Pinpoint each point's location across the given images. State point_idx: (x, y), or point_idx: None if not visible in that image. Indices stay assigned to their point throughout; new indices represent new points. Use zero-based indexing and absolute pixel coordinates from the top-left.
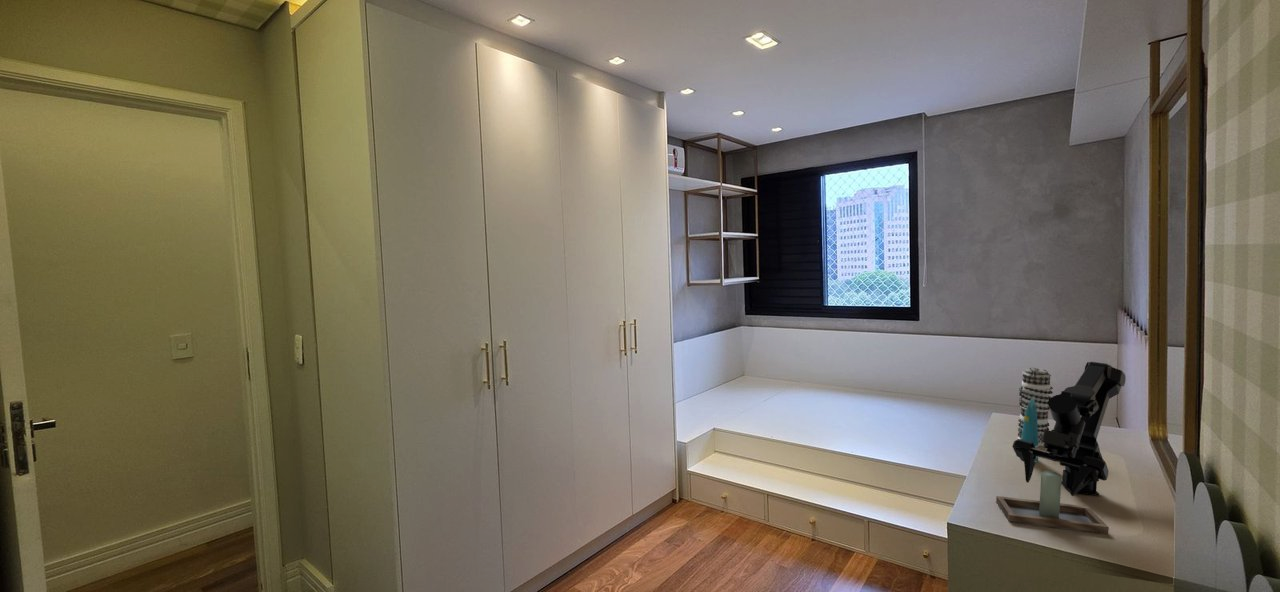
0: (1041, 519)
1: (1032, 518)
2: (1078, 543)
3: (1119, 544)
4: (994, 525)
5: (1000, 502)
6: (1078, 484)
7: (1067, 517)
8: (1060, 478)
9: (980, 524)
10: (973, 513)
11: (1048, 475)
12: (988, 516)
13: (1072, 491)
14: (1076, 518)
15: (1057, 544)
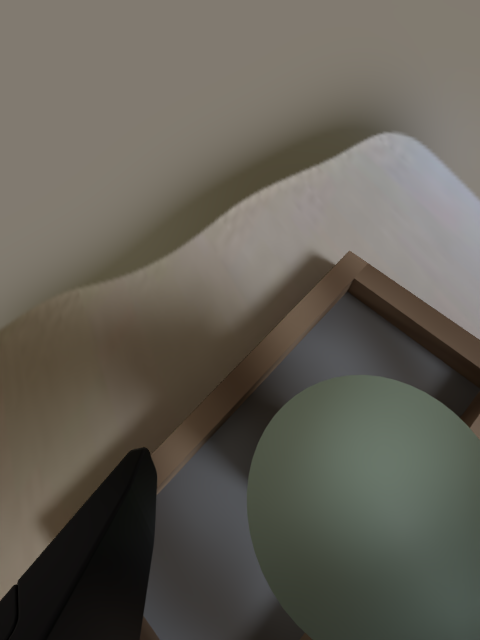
0: (266, 336)
1: (290, 311)
2: (123, 338)
3: (15, 487)
4: (344, 204)
5: (467, 333)
6: (52, 544)
7: (250, 555)
8: (247, 497)
9: (367, 173)
10: (444, 215)
11: (351, 396)
12: (406, 241)
13: (129, 462)
14: (219, 592)
15: (163, 267)
